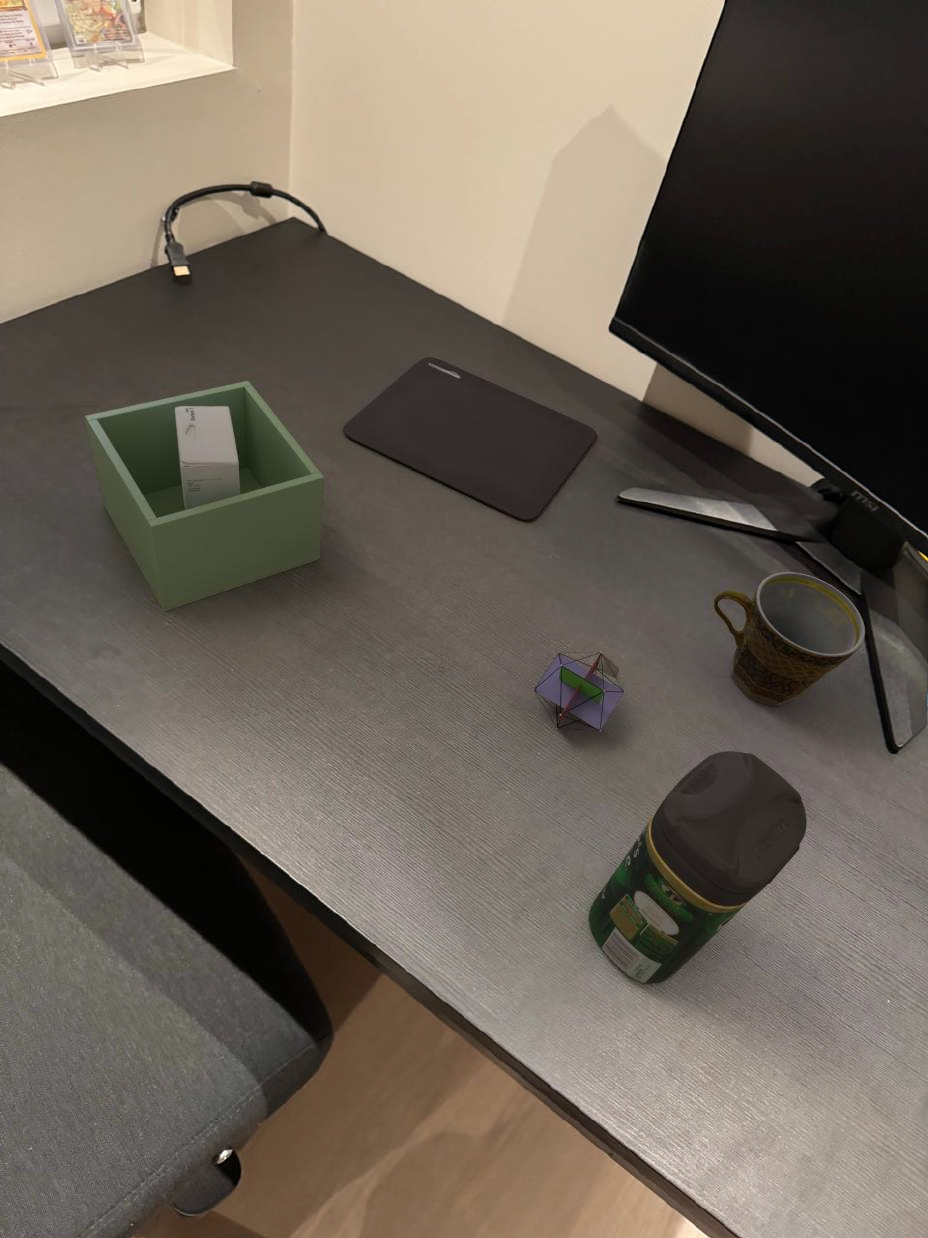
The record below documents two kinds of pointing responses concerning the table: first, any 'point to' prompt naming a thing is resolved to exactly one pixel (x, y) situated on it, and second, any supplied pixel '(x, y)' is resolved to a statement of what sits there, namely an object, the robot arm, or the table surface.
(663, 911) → the coffee jar
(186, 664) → the table surface
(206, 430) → the ink box
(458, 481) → the mouse pad
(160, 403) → the open square box
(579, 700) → the geometric puzzle
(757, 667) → the ceramic cup
